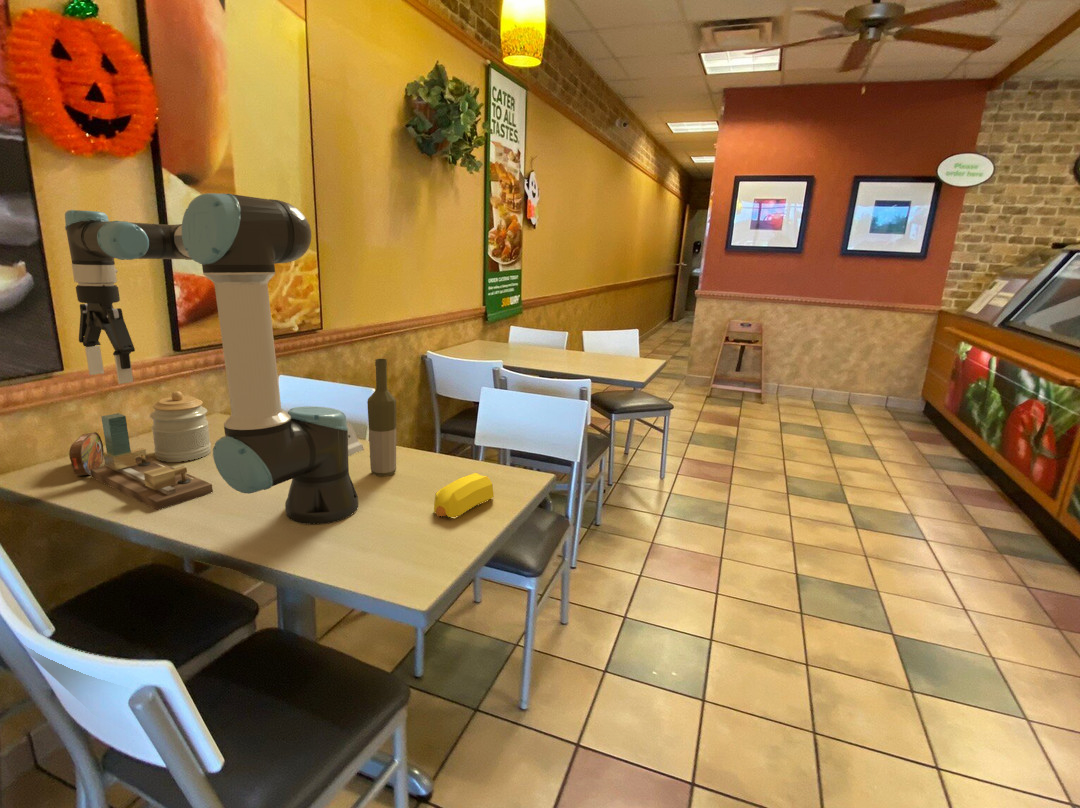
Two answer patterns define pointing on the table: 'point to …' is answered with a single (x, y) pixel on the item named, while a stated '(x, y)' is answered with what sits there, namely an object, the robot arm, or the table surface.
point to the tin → (86, 453)
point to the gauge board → (149, 492)
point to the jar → (180, 428)
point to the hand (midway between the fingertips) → (111, 378)
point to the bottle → (382, 425)
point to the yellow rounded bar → (463, 495)
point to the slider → (119, 443)
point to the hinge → (353, 441)
